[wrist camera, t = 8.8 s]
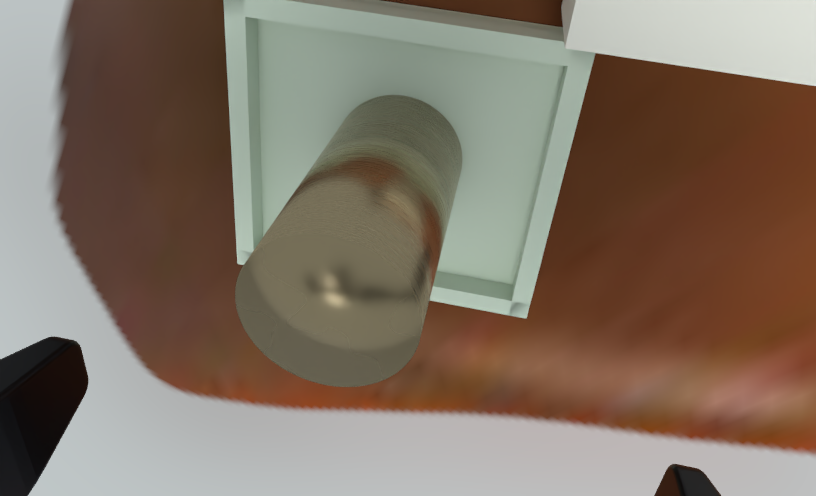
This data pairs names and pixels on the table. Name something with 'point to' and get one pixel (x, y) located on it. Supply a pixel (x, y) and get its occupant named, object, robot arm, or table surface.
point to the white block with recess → (701, 34)
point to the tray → (424, 80)
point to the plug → (356, 248)
